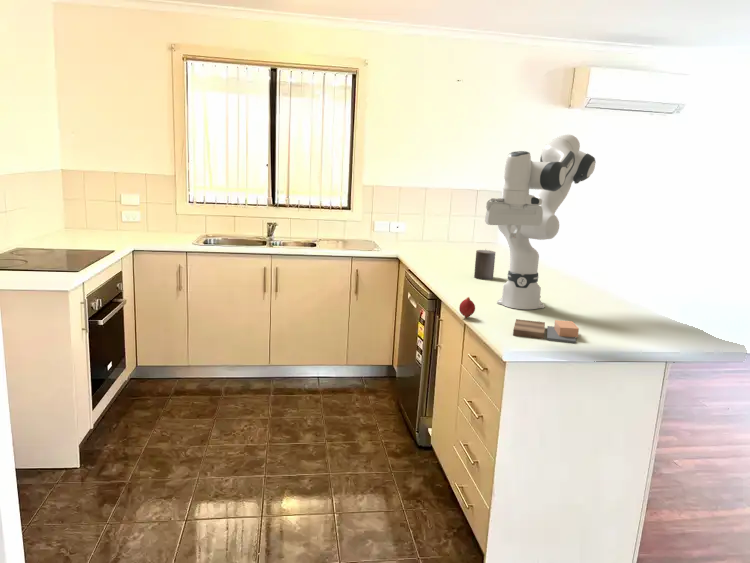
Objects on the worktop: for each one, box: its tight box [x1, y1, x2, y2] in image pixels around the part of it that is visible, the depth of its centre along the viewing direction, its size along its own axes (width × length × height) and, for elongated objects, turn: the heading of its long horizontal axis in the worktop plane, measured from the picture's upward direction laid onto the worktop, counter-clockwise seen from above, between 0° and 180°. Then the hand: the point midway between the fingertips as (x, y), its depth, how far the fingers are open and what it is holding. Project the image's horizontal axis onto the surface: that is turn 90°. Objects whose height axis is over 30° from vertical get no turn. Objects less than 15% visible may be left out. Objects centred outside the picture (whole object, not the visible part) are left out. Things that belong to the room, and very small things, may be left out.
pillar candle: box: [473, 249, 496, 281], centre depth 285 cm, size 10×10×15 cm
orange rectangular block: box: [553, 319, 580, 338], centre depth 191 cm, size 9×6×3 cm, turn 173°
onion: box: [458, 296, 476, 319], centre depth 209 cm, size 6×6×8 cm
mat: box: [546, 325, 577, 344], centre depth 191 cm, size 15×9×1 cm, turn 163°
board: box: [512, 318, 546, 340], centre depth 195 cm, size 14×10×2 cm
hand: (512, 238), depth 199 cm, fingers closed
